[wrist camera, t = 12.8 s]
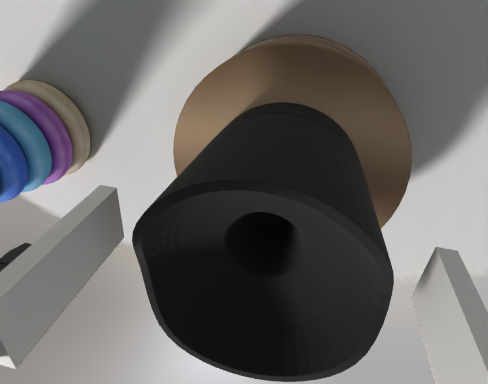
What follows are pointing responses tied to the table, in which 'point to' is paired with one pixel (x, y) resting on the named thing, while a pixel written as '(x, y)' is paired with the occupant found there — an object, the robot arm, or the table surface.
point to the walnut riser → (309, 94)
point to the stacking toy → (38, 137)
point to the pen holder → (269, 250)
